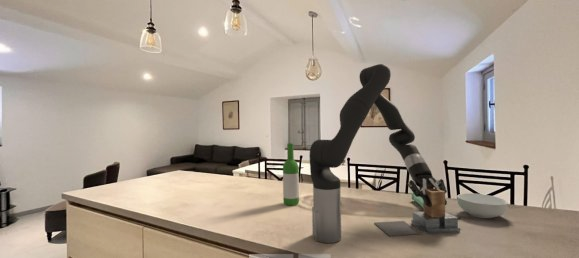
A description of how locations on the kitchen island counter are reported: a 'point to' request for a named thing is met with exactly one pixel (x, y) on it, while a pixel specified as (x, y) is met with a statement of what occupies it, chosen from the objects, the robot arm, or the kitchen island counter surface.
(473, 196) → the cereal bowl
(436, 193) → the sleeve
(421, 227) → the vise
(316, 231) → the robot arm
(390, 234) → the mat
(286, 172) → the wine bottle
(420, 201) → the pale green hexagonal rod
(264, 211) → the kitchen island counter surface
